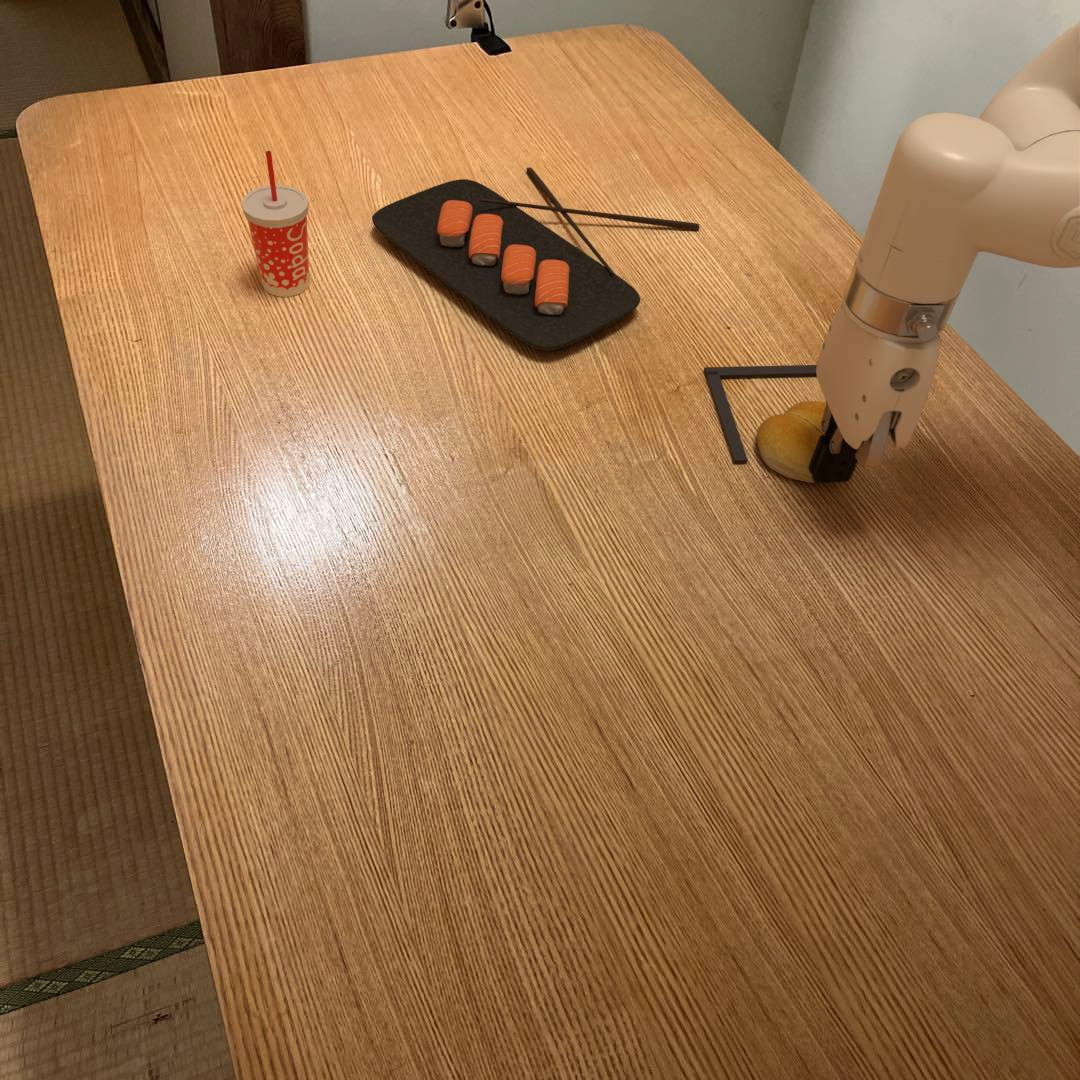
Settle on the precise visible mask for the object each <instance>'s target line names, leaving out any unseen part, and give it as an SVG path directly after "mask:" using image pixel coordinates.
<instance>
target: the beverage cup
mask: <svg viewBox="0 0 1080 1080" xmlns="http://www.w3.org/2000/svg"><path fill="white" fill-rule="evenodd" d="M265 157H266V165H267V172H268V180H269V185H265V186H260V187H258V188H255V189H253V190H250V191H249V192H248V193H247V194H245V196H243V198H242V201H241V208H242V213H243V215H244V217H245V220H247V224H248V228H249V233H250V237H251V242H252V245H253V250H254V253H255V254H254V255H255V258H256V264H257V267H258V271H259V277H260V280H261V285H262V288H263V289H264V291H265V292H266V293H268V294H270V295H272V296H276V297H281V298H282V297H283V298H289V297H293V296H297V295H300V294H302V293H303V292H305V291H306V290H307V289H308V288H309V287H310V262H309V261H310V260H309V237H308V214H309V209H310V207H309V206H310V205H309V203H310V202H309V201H310V200H309V199H308V197H307V195H306V194H305V193H304V191H301V190H300V189H298V188H296V187H293V186H289V185H279V184H276V179H275V172H274V171H275V170H274V164H273V163H274V162H273V156H272V150H267V151H265Z"/></svg>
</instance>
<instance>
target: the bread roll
mask: <svg viewBox="0 0 1080 1080" xmlns="http://www.w3.org/2000/svg"><path fill="white" fill-rule="evenodd" d="M825 407H826V402H824V401H816V400H811V401H810V400H807V401H805V400H804V401H801V402H797V403H794V404H793V405H791V406H790V407H789V408H788V409H787V410H785V411H784V413H783V414H773V415H771V416H769V417H767V418H766V419H764V420H763V421H762V422H761V423H760V425H759V427H758V429H757V432H756V433H757V434H756V442H757V447H758V451H759V452H760V455H761V458H762V461H763V462H764V463H765V464H766V465H767V466H768V467H769V468H770V469H772V470H773V471H775V472H776V473H778V474H780V475H782V476H783V477H784V478H787V479H792V480H795V481H799V482H806V483H811V484H815V483H814V481H813V479H812V475H813V474H811V473H810V471H809V469H808V467H809V464H810V461H811V459H812V456H813V453H814V451H815V448H816V445H817V443H818V440H819V437H820V435H825V434H823V433H822V431H821V421H822V418H823V414H824V411H825Z"/></svg>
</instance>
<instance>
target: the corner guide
mask: <svg viewBox="0 0 1080 1080" xmlns="http://www.w3.org/2000/svg"><path fill="white" fill-rule="evenodd" d="M816 367H817V364H792V365H789V364H788V365H750V366H746V365H745V366H705V367H704V368H703V373H704V375H705V380H706V383H707V386H708V390H709V392H710V395H711V398H712V401H713V404H714V407H715V410H716V413H717V417H718V420H719V423H720V425H721V429H722V433H723V436H724V439H725V442H726V445H727V448H728V451H729V454H730V458H731V460H732V464H734V465H745V464H747V463H748V461H749V460H748V456H747V453H746V451H745V448H744V444H743V441H742V439H741V435H740V433H739V429H738V427H737V424H736V421H735V418H734V414H733V412H732V409H731V406H730V402H729V400H728V396H727V394H726V390H725V388H724V385H723V382H722V379H725V380H726V379H727V380H729V379H730V380H731V379H769V378H770V379H771V378H809V377H810V378H811V377H812V378H813V377H816V378H817V374H816Z"/></svg>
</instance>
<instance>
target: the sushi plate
mask: <svg viewBox="0 0 1080 1080" xmlns="http://www.w3.org/2000/svg"><path fill="white" fill-rule="evenodd" d="M526 174H527V175H528V177H530V179H531V180H532V181H533V183H534V184H535V185H536V186H537V187H538V188H539V190H540V191H541V192H542V193H543V195H544V196H545V197H546V198H547V199H548V200H549V202H550V203H551V204H552V205H553V206H551V205H550V206H549V205H541V204H534V203H533V204H531V203H524V202H514V201H509V200H508V199H506V198H505V197H503V196H502V195H500V194H499V193H497V192H496V191H494V190H493V189H491V188H489V187H487V186H486V185H484V184H482V183H481V182H478V181H475V180H472V179H467V178H465V179H464V178H463V179H462V178H461V179H460V178H459V179H454V180H450V181H447V182H443V183H441V184H438V185H435V186H432V187H429V188H426V189H424V190H420V191H419V192H416V193H413V194H411V195H409V196H406V197H403V198H400V199H399V200H396V201H394V202H392V203H389V204H387V205H384V206H383V207H381V208H379V209H378V210H377V211H376V212H374V213H373V215H372V216H371V221H372V224H373V226H374V227H375V229H376V230H377V231H378V232H379V233H380V234H381V235H382V236H383V237H384V238H386V239H387V240H388V241H389V242H391V243H392V244H393V245H394V246H396V248H398V249H399V250H401V251H402V252H403V253H404V254H405V255H407V256H408V257H410V258H411V259H412V260H414V261H415V262H416V263H417V264H418V265H420V266H422V267H423V268H424V269H426V270H427V271H428V272H429V273H431V275H433V276H434V277H436V278H437V279H439V280H440V281H441V282H443V284H445V285H446V286H448V287H449V288H450V289H452V290H453V291H454V292H455V293H457V294H458V295H459V296H460V297H462V298H463V299H465V300H466V302H469V304H471V305H472V306H474V307H475V308H476V309H477V310H479V311H480V312H481V313H483V314H484V315H485V316H487V317H488V318H489V319H490V320H492V321H493V322H494V323H496V324H497V325H498V326H500V328H502V329H504V330H505V331H506V332H508V333H509V334H510V335H512V336H514V337H515V338H516V339H518V340H519V341H521V342H523V343H524V344H526V345H528V346H529V347H531V348H534V349H537V350H540V351H554V350H559V349H562V348H565V347H568V346H570V345H572V344H575V343H577V342H579V341H581V340H583V339H585V338H587V337H589V336H591V335H593V334H595V333H598V332H599V331H601V330H603V329H605V328H607V327H609V326H611V325H612V324H614V323H616V322H618V321H619V320H622V319H623V318H625V317H627V316H628V315H629V314H631V313H632V312H633V311H635V310H636V309H637V307H638V306H639V305H640V303H641V297H640V294H639V292H638V290H636V289H635V288H634V287H633V286H632V285H631V284H630V283H628V282H627V281H626V280H624V279H623V278H622V277H621V276H619V275H618V274H616V273H615V272H614V270H613V269H612V268H611V267H610V265H609V264H608V263H607V261H606V260H605V259H604V258H603V257H602V255H601V254H600V253H599V252H598V250H597V249H596V248H595V246H593V244H592V243H591V242H590V240H589V239H588V238H587V237H586V235H585V234H584V233H583V232H582V230H581V229H580V228H579V226H578V225H577V224H576V223H575V221H574V220H573V219H572V218H571V216H570V215H569V214H573V215H579V216H580V215H581V216H587V217H595V218H601V219H602V218H603V219H610V220H615V221H624V222H628V223H629V222H630V223H637V224H643V225H652V226H657V227H658V226H659V227H666V228H673V229H680V230H681V229H682V230H689V231H699V230H700V224H699V223H697V222H690V221H683V220H672V219H663V218H655V217H647V216H637V215H627V214H619V213H610V212H601V211H592V210H582V209H573V208H565V207H563V206H562V204H561V203H560V202H559V201H558V199H557V197H555V195H554V194H553V192H551V190H550V189H549V187H548V186H547V185H546V184H545V183H544V181H543V180H542V179H541V178H540V176H539V175H538V174H537V172H536V171H535V170H534V169H533V167H526ZM519 207H520V208H519ZM521 208H527V209H536V210H544V211H550V212H558V213H560V215H561V216H562V217H563V218H564V219H565V220H566V221H567V223H568V224H569V225H570V226H571V227H572V229H573V230H574V231H575V232H576V233H577V235H578V236H579V237H580V238H581V239H582V241H583V242H584V244H586V246H587V247H588V248H589V249H590V250H591V252H592V253H593V254H594V255H595V256H596V258H597V259H598V261H597V260H596V259H594V258H593V257H591V256H590V255H588V254H587V253H585V252H584V251H583V250H581V249H579V248H578V247H576V246H575V245H574V244H573V243H571V242H569V241H568V240H567V239H565V238H564V237H563V236H561V235H559V234H558V233H557V232H554V231H553V230H552V229H551V228H549V227H547V226H546V225H545V224H543V223H541V222H540V221H539V220H537V219H536V218H534V217H532V216H531V215H530V214H529V213H528V212H527V213H526V212H525V211H524V210H523V209H521ZM599 261H600V262H599Z"/></svg>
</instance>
